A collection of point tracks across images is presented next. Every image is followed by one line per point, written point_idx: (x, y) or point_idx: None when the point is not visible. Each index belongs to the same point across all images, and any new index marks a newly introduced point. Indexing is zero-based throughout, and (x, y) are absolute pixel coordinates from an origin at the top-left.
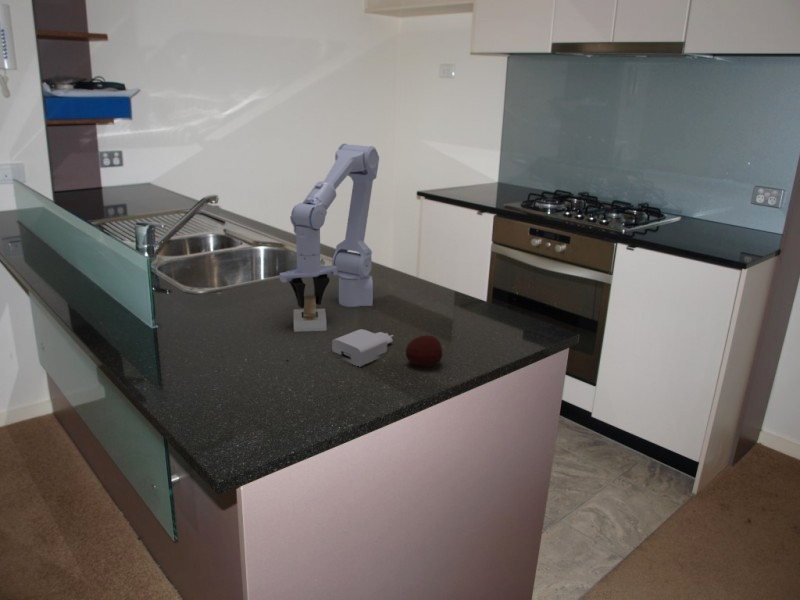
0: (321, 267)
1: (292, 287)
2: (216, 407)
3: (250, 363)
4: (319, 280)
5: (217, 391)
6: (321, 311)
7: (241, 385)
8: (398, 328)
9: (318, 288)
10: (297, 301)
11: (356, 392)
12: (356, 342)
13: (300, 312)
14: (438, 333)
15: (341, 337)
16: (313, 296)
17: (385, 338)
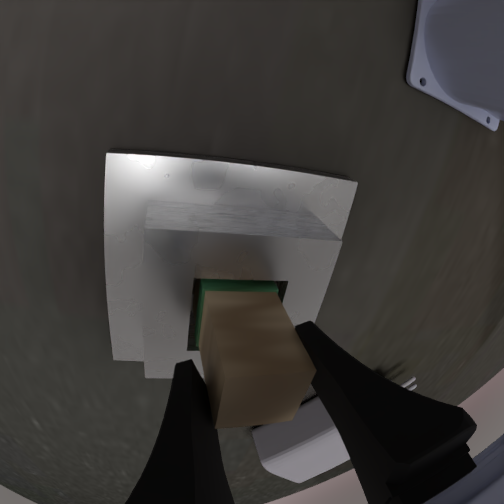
0: (493, 501)
1: (144, 483)
2: (59, 494)
3: (53, 436)
4: (374, 501)
5: (40, 477)
6: (310, 281)
7: (69, 476)
8: (468, 286)
9: (348, 442)
10: (172, 386)
11: (254, 488)
12: (309, 471)
13: (186, 284)
14: (494, 314)
15: (287, 464)
16: (296, 389)
17: None
